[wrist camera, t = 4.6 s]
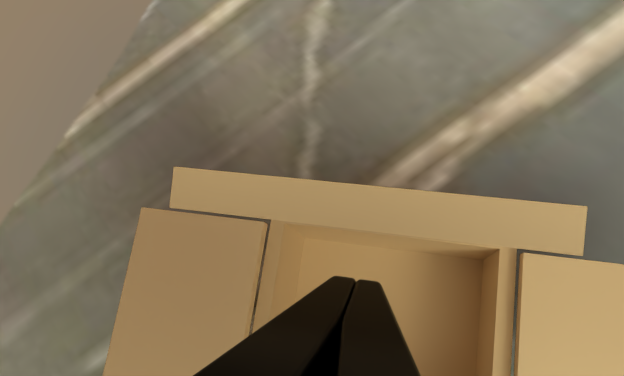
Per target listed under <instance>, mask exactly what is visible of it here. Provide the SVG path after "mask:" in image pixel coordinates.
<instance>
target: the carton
mask: <svg viewBox="0 0 624 376" xmlns="http://www.w3.org/2000/svg"><path fill="white" fill-rule="evenodd" d="M267 227H268V224H266V223H265V222H261V221H253V220H245V219H236V218H228V217H219V216H211V215H202V214H194V213H186V212H177V211H169V210H160V209H152V208H144V207H142V208H141V212H140V217H139V221H138V225H137V229H136V234H135V238H134V242H133V247H132V251H131V255H130V260H129V264H128V268H127V273H126V277H125V281H124V286H123V290H122V294H121V298H120V303H119V307H118V311H117V316H116V320H115V324H114V329H113V333H112V337H111V342H110V346H109V350H108V354H107V359H106V363H105V367H104V372H103V376H193V375H194V374H196V373H197V372H199V371H200V370H201V369H203V368H204V367H206V366H207V365H208V364H210V363H211V362H213V361H214V360H215V359H217V358H218V357H220V356H221V355H222V354H224V353H225V352H227V351H228V350H230V349H231V348H232V347H234V346H235V345H237V344H238V343H239V342H241V341H242V340H244V339H245V338H246V337H248V336H249V332H250V326H251V321H252V315H253V309H254V303H255V297H256V291H257V285H258V279H259V274H260V268H261V262H262V256H263V250H264V244H265V238H266V232H267ZM516 258H517V248H509V247H501V246H492V245H484V244H475V243H467V242H458V241H450V240H441V239H433V238H424V237H416V236H407V235H399V234H390V233H382V232H373V231H365V230H356V229H347V228H339V227H330V226H322V225H313V224H305V223H296V222H288V221H279V220H271V223H270V229H269V235H268V241H267V247H266V252H265V258H264V264H263V270H262V276H261V282H260V288H259V294H258V300H257V306H256V312H255V317H254V323H253V329H252V333H253V332H255V331H256V330H258V329H259V328H260V327H262V326H263V325H265V324H266V323H268V322H269V321H270V320H272V319H273V318H275V317H276V316H277V315H279V314H280V313H282V312H283V311H284V310H286V309H287V308H289V307H290V306H291V305H293V304H294V303H296V302H297V301H298V300H300V299H301V298H303V297H304V296H306V295H307V294H308V293H310V292H311V291H313V290H314V289H315V288H317V287H318V286H320V285H321V284H322V283H324V282H325V281H327V280H328V279H329V278H331V277H333V276H343V277H350V278H354V279H355V280H356V282H357V280H359V279H364V280H371V281H377V282H379V283H380V284H381V285H382V287H383V290H384V292H385V294H386V297H387V299H388V301H389V304H390V306H391V308H392V311H393V313H394V315H395V317H396V320H397V322H398V324H399V327H400V329H401V331H402V334H403V336H404V338H405V340H406V343H407V345H408V347H409V350H410V352H411V354H412V357H413V359H414V361H415V363H416V366H417V368H418V370H419V373H420V375H421V376H510V374H511V355H512V336H513V316H514V297H515V278H516ZM514 376H624V264H615V263H607V262H598V261H590V260H581V259H573V258H565V257H556V256H548V255H539V254H531V253H522V254H520V261H519V281H518V301H517V320H516V340H515V360H514Z"/></svg>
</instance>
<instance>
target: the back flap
mask: <svg viewBox="0 0 624 376" xmlns="http://www.w3.org/2000/svg"><path fill="white" fill-rule="evenodd" d="M169 208H177V209H185V210H194V211H202V212H211V213H220V214H228V215H237V216H245V217H254V218H262V219H271V220H279V221H288V222H296V223H305V224H313V225H322V226H330V227H339V228H347V229H356V230H365V231H373V232H382V233H390V234H399V235H407V236H416V237H424V238H433V239H441V240H450V241H458V242H467V243H475V244H484V245H492V246H501V247H509V248H518V249H527V250H535V251H544V252H552V253H561V254H569V255H578V256H583V249H584V238H585V228H586V217H587V206H577V205H567V204H557V203H546V202H536V201H526V200H515V199H505V198H495V197H484V196H474V195H464V194H453V193H443V192H433V191H422V190H412V189H401V188H391V187H381V186H370V185H360V184H350V183H339V182H329V181H319V180H308V179H298V178H288V177H277V176H267V175H256V174H246V173H236V172H225V171H215V170H205V169H194V168H184V167H174V169H173V178H172V187H171V196H170V205H169Z"/></svg>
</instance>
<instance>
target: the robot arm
mask: <svg viewBox="0 0 624 376" xmlns="http://www.w3.org/2000/svg"><path fill="white" fill-rule="evenodd" d="M193 376H421V375H420V373H419V370H418V368H417V366H416V363H415V361H414V359H413V357H412V354H411V352H410V350H409V347H408V345H407V343H406V340H405V338H404V336H403V334H402V331H401V329H400V327H399V324H398V322H397V320H396V317H395V315H394V313H393V311H392V308H391V306H390V304H389V301H388V299H387V297H386V294H385V292H384V290H383V287H382V285H381V284H380V283H379V282H377V281H371V280H364V279H359V280H357V282H356V280H355V279H354V278H350V277H343V276H333V277H331V278H329V279H328V280H327V281H325V282H324V283H322V284H321V285H320V286H318V287H317V288H315V289H314V290H313V291H311V292H310V293H308V294H307V295H306V296H304V297H303V298H301V299H300V300H298V301H297V302H296V303H294V304H293V305H291V306H290V307H289V308H287V309H286V310H284V311H283V312H282V313H280V314H279V315H277V316H276V317H275V318H273V319H272V320H270V321H269V322H268V323H266V324H265V325H263V326H262V327H260V328H259V329H258V330H256V331H255V332H253V333H252V334H251V335H249V336H248V337H246V338H245V339H244V340H242V341H241V342H239V343H238V344H237V345H235V346H234V347H232V348H231V349H230V350H228V351H227V352H225V353H224V354H222V355H221V356H220V357H218V358H217V359H215V360H214V361H213V362H211V363H210V364H208V365H207V366H206V367H204V368H203V369H201V370H200V371H199V372H197V373H196V374H194V375H193Z"/></svg>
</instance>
